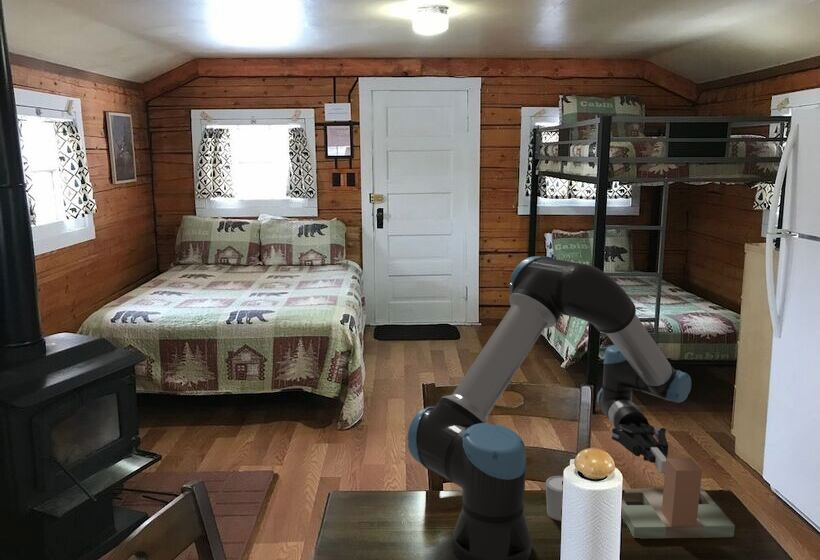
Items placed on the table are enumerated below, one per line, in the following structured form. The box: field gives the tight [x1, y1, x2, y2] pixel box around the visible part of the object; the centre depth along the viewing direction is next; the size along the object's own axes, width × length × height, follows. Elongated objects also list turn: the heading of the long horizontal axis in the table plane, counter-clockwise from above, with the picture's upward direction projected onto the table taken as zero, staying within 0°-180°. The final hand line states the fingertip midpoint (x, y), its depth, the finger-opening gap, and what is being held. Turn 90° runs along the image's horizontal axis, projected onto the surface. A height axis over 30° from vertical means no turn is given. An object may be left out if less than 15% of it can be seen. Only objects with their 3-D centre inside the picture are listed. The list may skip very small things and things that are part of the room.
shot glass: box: [545, 475, 563, 522], centre depth 142 cm, size 7×7×7 cm
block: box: [662, 457, 703, 526], centre depth 135 cm, size 5×5×12 cm
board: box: [621, 487, 736, 539], centre depth 141 cm, size 14×20×2 cm
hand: (664, 467), depth 145 cm, fingers closed
